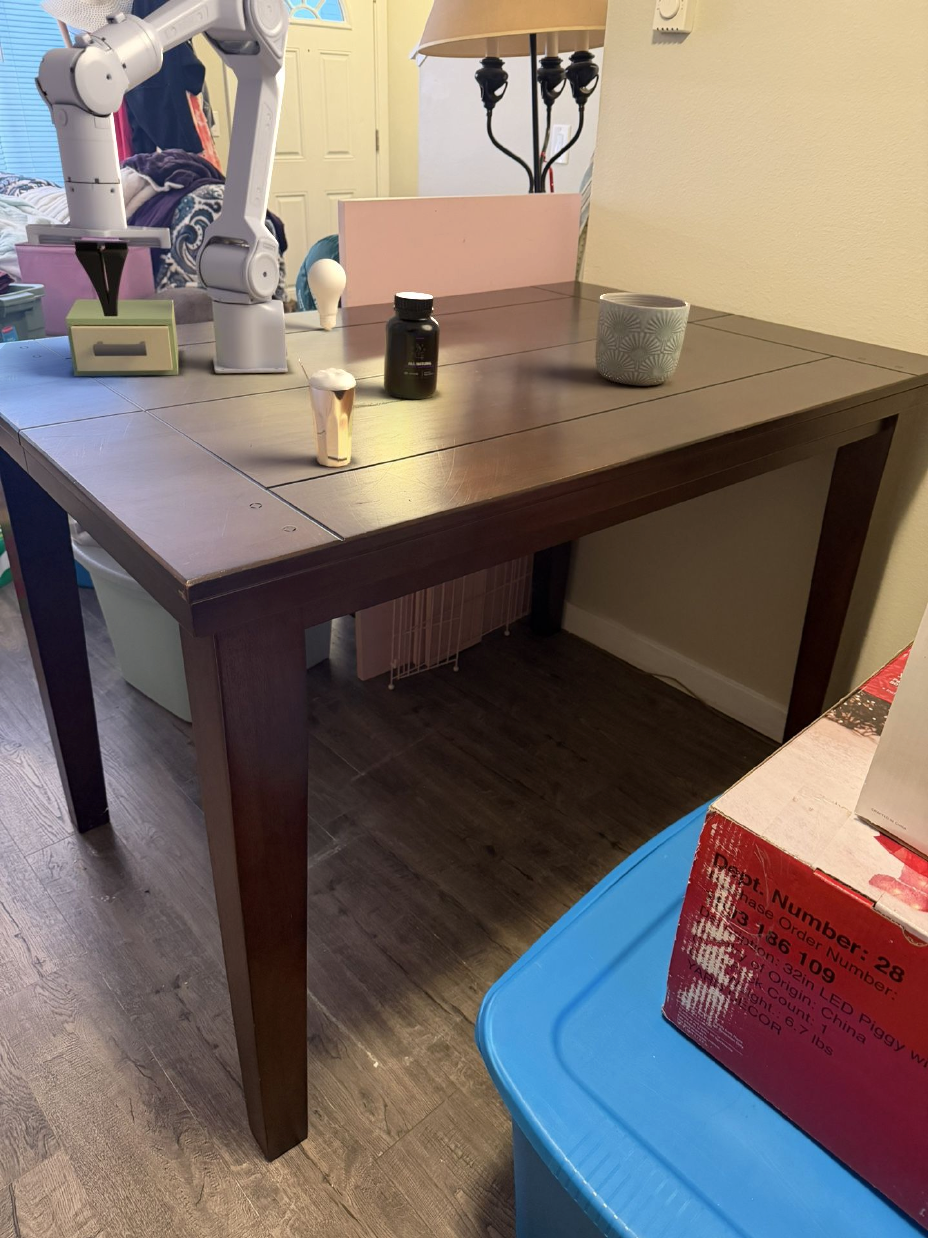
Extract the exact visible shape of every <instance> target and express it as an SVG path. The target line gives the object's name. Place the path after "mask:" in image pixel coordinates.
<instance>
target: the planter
mask: <svg viewBox="0 0 928 1238" xmlns="http://www.w3.org/2000/svg"><path fill="white" fill-rule="evenodd" d="M598 304H599V305H598V315H597V326H596V337H595V365H596V369H597V371H598V373H599V374H600V375H601V376H602V377H603V378H605V379H606V380H609V381H611V382H614V383H618V384H622V385H629V386H640V387H641V386H644V387H645V386H646V387H649V386H657V385H661V384H664V383H666V382H668V380H670V379H671V378H672V377H673V375H674V374H675V372H676V369H677V366H678V363H679V359H680V356H681V353H682V347H683V344H684V339H685V334H686V330H687V324H688V321H689V314H690V310H691V309H690V308H691V303H690V302H689V301H687V300H684V299H681V298H678V297H672V296H667V295H661V294H654V293H644V292H643V293H642V292H609V293H604V294H601V295H600V297H599V303H598ZM600 372H601V373H600ZM604 374H605V375H604ZM606 375H607V376H606ZM609 376H610V377H609ZM617 378H618V379H617ZM669 378H670V379H669ZM666 379H668V380H666ZM661 380H664V381H661ZM655 381H656V382H655Z"/></svg>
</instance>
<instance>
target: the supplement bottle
mask: <svg viewBox="0 0 928 1238" xmlns="http://www.w3.org/2000/svg"><path fill="white" fill-rule="evenodd" d="M393 297H394V299H393V306H392V309H393V311H394V312H395V314H394V315H393V316H391V317H389V318H388V319H387V321H386V322H385V328H384V362H383V364H384V365H383V366H384V367H383V368H384V369H383V390H384V391H385V393H386V394H387V395H389V396H392V397H393V398H399V399H405V400H424V399H429V398H432V397H434V396H435V395H436V393H437V387H438V372H439V353H440V352H439V351H440V336H441V335H440V334H441V328H440V325H439V323H438V322H437V321H436V319H434V318H433V317H432V314H433V313H434V297H433V296H432V295H430V294H427V293H419V292H418V293H417V292H399V293H395V294H394V296H393Z"/></svg>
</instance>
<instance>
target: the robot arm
mask: <svg viewBox="0 0 928 1238" xmlns="http://www.w3.org/2000/svg"><path fill="white" fill-rule="evenodd" d="M285 2H286V1H285V0H168V1H166V2H165V3H163V5H161V6H159V7H158V8H157V9H155V10H154V11H153V12H151V13H150V14H148V15H147V16H146V17H144V18H143V19H142V18H140V17H139V16H137V15H134V14H131V13H124V12H123V11H112V12H111V13H108V14H107V15H106V16H105V20H106V24H105V25H103V26H101V27H99V28H98V29H96V30H94V31H92V32H91V33H87V32H80V33H78V34H76V35H75V36H74V38H73V40H74V41H75V42H74V44H73V45H72V46H71V47H69V48H68V47H67V48H65V47H59V48H58V47H57V48H51V49H49V50H47V51H46V52H45V53H44V55H43V56H42V58H41V59H42V60H41V61H40V62H39V66H38V76H37V77H36V76H35V77H34V83H35V87H36V91H37V93H38V94H39V96H40V98H41V99H42V101H43V102H44V103H45V105H46V106H47V108H48V110H49V114H50V119H51V124H52V125H54V129H55V133H56V139H57V145H58V152H59V157H60V158H59V159H60V163H61V170H62V177H63V184H64V190H65V197H66V203H67V210H68V215H69V216H68V217H69V223H52V224H51V223H49V224H48V223H47V224H45V223H42V224H41V223H27V224H26V225H25V232H26V237H27V244H28V246H41V245H43V246H74V250H75V251H74V255H75V256H76V258H77V260H78V261H79V263H80V265H81V266H82V269H83V270H84V271H85V273H86V275H87V276H88V278H89V280H90V282H91V284H92V286H93V288H94V290H95V293H96V295H97V297H98V299H99V300H100V303H101V306H102V309H103V313H104V316H118V300H119V296H120V295H119V294H120V293H119V292H120V287H121V281H122V276H123V272H124V267H125V263H126V260H127V257H128V253H129V251H130V249H129V248H131V247H132V248H160V249H171V248H172V244H171V233H170V228H169V227H153V226H152V227H151V226H137V225H127V224H128V223H127V216H126V207H125V199H124V193H123V184H122V178H121V177H122V176H121V168H120V162H119V161H120V159H119V153H118V144H117V136H116V129H115V121H114V113H117V112H118V111H119V110H120V108H121V106H122V103H123V100H124V95H125V94H126V93H128V92H130V91H131V90H132V89H134V88H135V87H137V86H139V85H141V84H142V83H143V82H145V81H147V80H148V79H150V78H151V77H152V76H154V75H156V74H158V73H159V72H160V71H161V69H162V66H163V54H164V53H166V52H168V51H170V50H171V49H173V48H175V47H177V46H179V45H180V44H182V43H184V42H186V41H189V40H190V39H192V38H194V37H195V36H198V35H199V34H201V35H202V36H203V38H204V39H205V40H206V42H208V44H209V45H210V46H211V48H212V49H213V50H214V51H215V53H216V54H217V56H219V58H220V59H221V60H222V62H223V63H224V64H225V65H226V67H228V68H229V69H231V70H232V71H233V73H234V76H235V77H236V80H237V86H236V93H235V100H234V109H233V110H234V111H233V117H232V123H231V134H230V140H229V147H228V156H227V166H226V172H225V179H224V180H225V181H224V188H223V194H222V204H221V212H220V214H219V216H218V217H216V219H214V220H213V221H212V222H211V223H210V224H209V225H208V226H207V227H206V228H205V229H204V237H203V241H202V244H201V246H200V247H199V249H198V251H197V254H196V257H195V273H196V277H197V280H198V281H199V283H200V284H201V285H202V287H203V288H204V289H206V294H207V298H211V308H212V319H213V320H212V321H213V332H214V333H213V334H214V344H215V356H213V357H212V360H213V369H214V373H216V374H259V373H261V374H262V373H264V374H265V373H269V374H270V373H288V360H287V359H288V358H287V357H288V345H287V340H286V339H287V337H286V336H287V335H286V319H285V318H286V317H285V310H284V309H285V307H284V303H283V300H280V299H273V298H272V297H273V295H274V294H275V292H276V290H277V288H278V286H279V281H280V266H279V258H278V256H279V247H280V243H279V242H278V241H277V239H276V238H275V237H274V235H273V234H272V233H271V232H270V231H269V229H268V228H267V227H266V225H265V223H266V217H267V209H268V200H269V193H270V187H271V179H272V174H273V173H272V171H273V165H274V158H275V151H276V143H277V137H278V136H277V135H278V129H279V121H280V114H281V106H282V99H283V93H284V87H285V86H284V85H285V75H286V73H285V57H286V49H287V43H288V36H289V35H288V34H289V28H290V20H291V15H290V12H289V10H288V7H287V4H286V3H285ZM83 238H85V239H83ZM86 238H89V239H86ZM91 239H92V240H91ZM93 239H95V240H93ZM96 239H98V240H96ZM99 239H118V240H99ZM245 245H246V246H245ZM103 247H104V248H103Z"/></svg>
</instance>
